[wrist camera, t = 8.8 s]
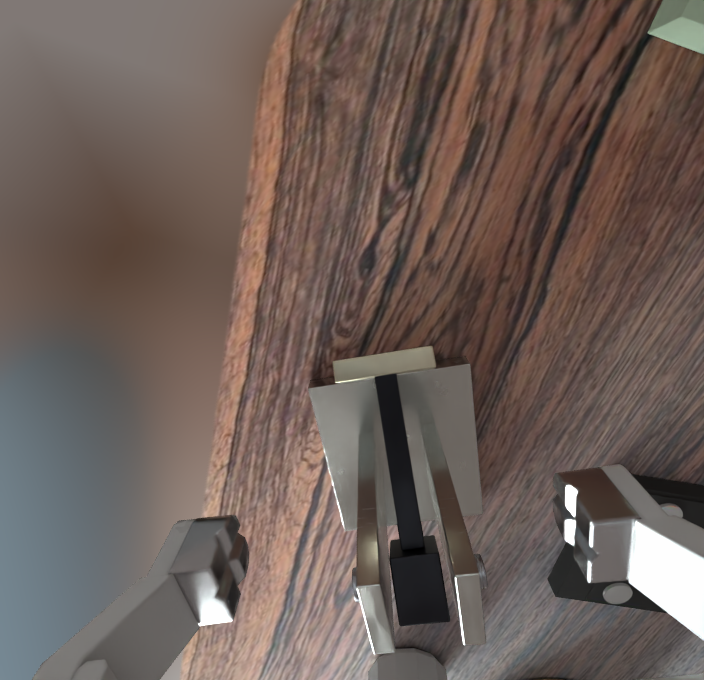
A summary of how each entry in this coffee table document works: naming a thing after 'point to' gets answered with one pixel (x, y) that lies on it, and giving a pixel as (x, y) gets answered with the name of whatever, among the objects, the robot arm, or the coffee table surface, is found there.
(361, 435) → the bracket
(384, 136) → the coffee table surface
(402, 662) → the water bottle
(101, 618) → the robot arm
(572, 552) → the remote control
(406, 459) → the lever
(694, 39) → the button box
